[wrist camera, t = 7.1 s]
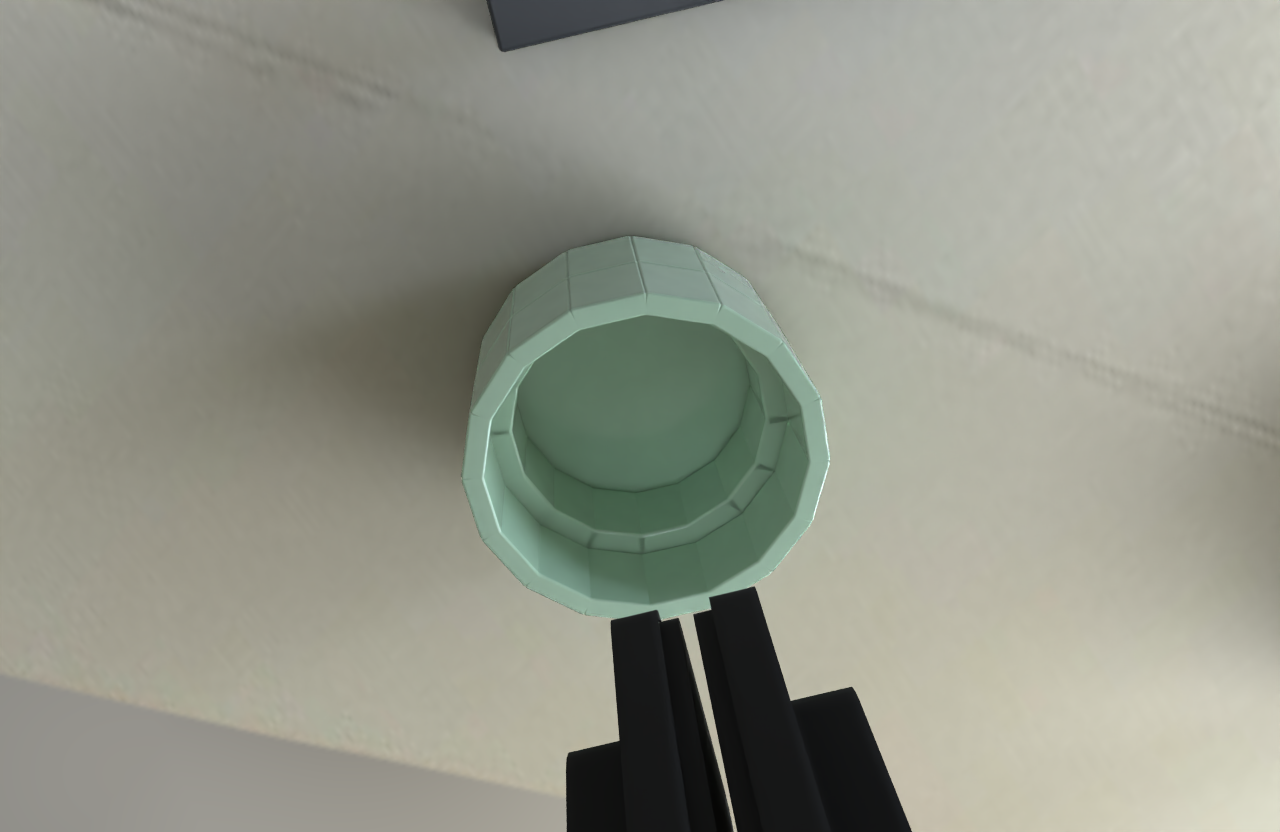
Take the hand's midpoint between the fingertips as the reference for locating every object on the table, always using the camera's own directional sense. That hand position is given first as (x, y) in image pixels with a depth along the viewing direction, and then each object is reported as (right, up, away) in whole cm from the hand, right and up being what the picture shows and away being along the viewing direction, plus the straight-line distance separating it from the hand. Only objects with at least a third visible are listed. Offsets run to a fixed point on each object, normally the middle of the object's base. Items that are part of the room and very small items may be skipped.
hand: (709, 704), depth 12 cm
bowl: (-1, +4, +13) cm, 14 cm away
